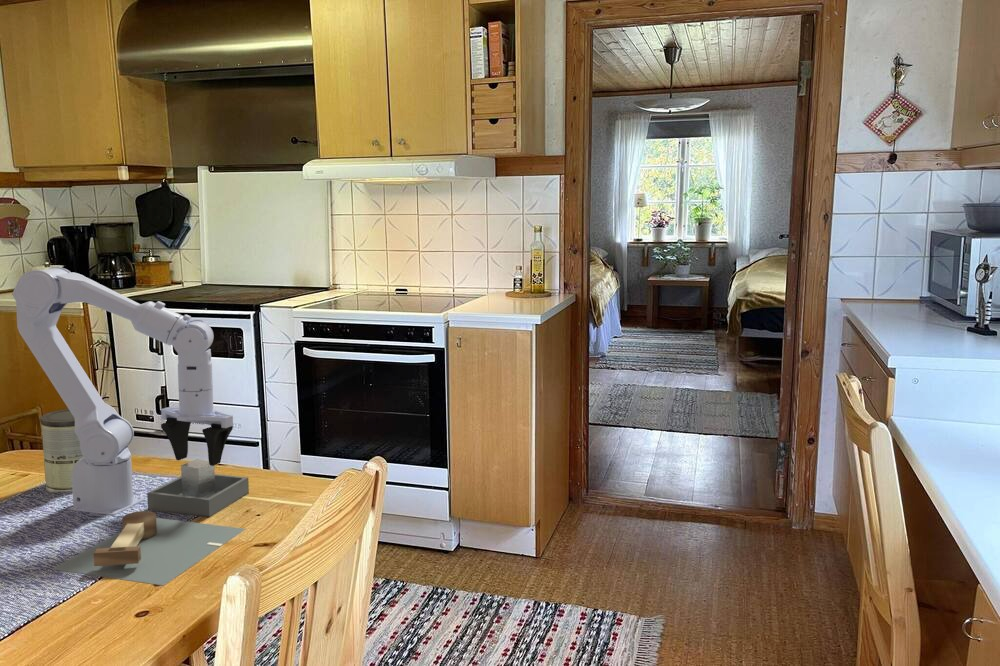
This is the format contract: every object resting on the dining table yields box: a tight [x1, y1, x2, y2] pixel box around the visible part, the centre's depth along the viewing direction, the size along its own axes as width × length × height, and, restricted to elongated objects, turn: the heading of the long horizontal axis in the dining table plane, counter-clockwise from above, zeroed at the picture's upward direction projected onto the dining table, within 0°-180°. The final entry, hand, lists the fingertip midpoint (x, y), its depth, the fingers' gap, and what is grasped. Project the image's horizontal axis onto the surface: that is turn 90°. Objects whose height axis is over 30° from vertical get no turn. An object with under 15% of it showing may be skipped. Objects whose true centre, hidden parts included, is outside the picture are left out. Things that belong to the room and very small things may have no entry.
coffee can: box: [39, 408, 83, 494], centre depth 148 cm, size 10×10×14 cm
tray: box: [146, 473, 250, 518], centre depth 140 cm, size 12×12×4 cm
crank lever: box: [93, 510, 157, 566], centre depth 120 cm, size 16×6×3 cm, turn 11°
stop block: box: [180, 459, 216, 498], centre depth 140 cm, size 4×4×7 cm
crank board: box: [51, 517, 246, 587], centre depth 120 cm, size 19×21×1 cm
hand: (198, 461), depth 139 cm, fingers open, 7 cm apart
